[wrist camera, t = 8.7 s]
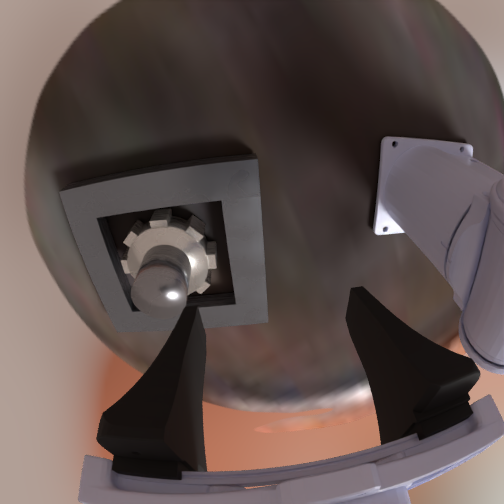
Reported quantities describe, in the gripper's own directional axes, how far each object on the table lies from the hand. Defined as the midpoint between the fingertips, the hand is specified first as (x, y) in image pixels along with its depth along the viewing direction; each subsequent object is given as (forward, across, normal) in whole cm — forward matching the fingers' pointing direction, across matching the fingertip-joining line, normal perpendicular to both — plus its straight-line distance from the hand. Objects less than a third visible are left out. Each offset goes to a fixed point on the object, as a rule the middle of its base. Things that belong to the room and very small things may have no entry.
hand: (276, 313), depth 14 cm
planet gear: (+9, +7, +2) cm, 12 cm away
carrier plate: (+9, +7, +2) cm, 12 cm away
